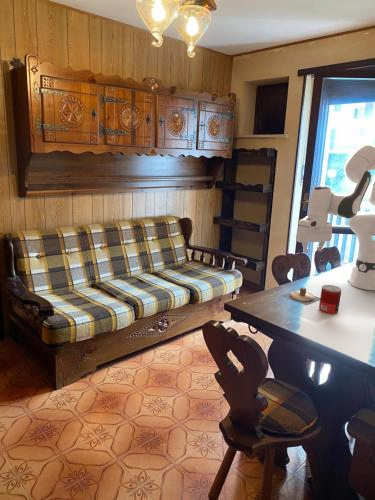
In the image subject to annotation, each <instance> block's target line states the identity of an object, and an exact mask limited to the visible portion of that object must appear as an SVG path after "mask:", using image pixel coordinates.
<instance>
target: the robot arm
mask: <svg viewBox="0 0 375 500" xmlns="http://www.w3.org/2000/svg"><path fill="white" fill-rule="evenodd" d="M343 169H344V171H343V172H344V174H345V177H346V178H347V179H348V180H349V181H351V182H352V183H355V185H354V187H353V189H352V192H351V193H349V194H338V193H335V192H333V191H332V188H331V186H330V185H326V184H325V185H316V186H314V187H312V188H313V189H312V190H311V193H310V198H309V204H308V206H309V209H308V211H307V215H306V216H305V217H303V218H301V219H299V220H298V226H297V230H296V236H295V238H296V242H297V243H301V245H302V252H304V253H308V252H309V248H308V244H309V243H319V244H318V246H316V251H318V252H322V251H323V248H324V246H325V244H326V242H331V241H332V238H333V237H332V236H333V227H332V222H331V221H330V220H329V215H332V216H337V217H341V218H344V219H348V226H349V228H350V230H351V231H352V232H353V234H355V236H356V238H357V239H358V240H357V241H358V244H359V245H358V255H357V258H356V260H355V266H353V267H352V271H351V274H350V277H349V278H348V279H347V282H349V284H350V285H351V286H353V287H355V288H358V289H361V290H366V291H367V290H368V291H375V240H374V238H373V236H375V212H369V211H368V212H367V211H366V212H365V211H360V209H361V205H362V201H363V199H364V197H365V195H366V193H367V190H368V188H369V185H370V184H371V186H370V192H369V195H368V202H369V203H370V204H371V205H372V206H374V207H375V174H374V175H373V178H372V174H371V171H375V145H373V144H369V143H366V144H363V145H360V147H358V148H357V150H356V151H354V152H353V154H352V155H351V156H350V157H349V159H348V160H347V161H346V163H345V165H344V168H343ZM371 181H372V182H371ZM328 220H329V221H328Z"/></svg>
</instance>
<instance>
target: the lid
mask: <svg viewBox="0 0 375 500" xmlns="http://www.w3.org/2000/svg"><path fill="white" fill-rule="evenodd" d="M289 293H290V297H291V298H293V299H295V300H298V301H304V302H310V301H313V300H314V296H315V295H314V294H312V293H310V292H309V291H308V292H307V288H306V287H300V288H299V291H297V290H292V291H291V292H289Z"/></svg>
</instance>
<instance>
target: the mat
mask: <svg viewBox="0 0 375 500" xmlns="http://www.w3.org/2000/svg"><path fill="white" fill-rule="evenodd" d="M296 291H300V289H297V290H296ZM290 293H291V292H287V293H285V294H282V295H280V296H281V297H283V298H286V299H289V300H292V301H294V302H297V303H299V304H302V305H304V306H309V305H311V304H314V303H317V302H320V296H319V297H318V296H316V295H314V300H313V301H310V302H304V301H298V300H295V299H293V298H291V297H290Z"/></svg>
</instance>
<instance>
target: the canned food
mask: <svg viewBox="0 0 375 500" xmlns="http://www.w3.org/2000/svg"><path fill="white" fill-rule="evenodd" d="M341 295H342V288H341V287H339V286H338V285H337V286H336V285H332V284H324V285H322V286H321V290H320V296H319V298H320V301H319V306H318V310H319V311H320V312H321V313H324V314H328V315H336V314H338V312H339V308H340V303H341Z"/></svg>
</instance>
